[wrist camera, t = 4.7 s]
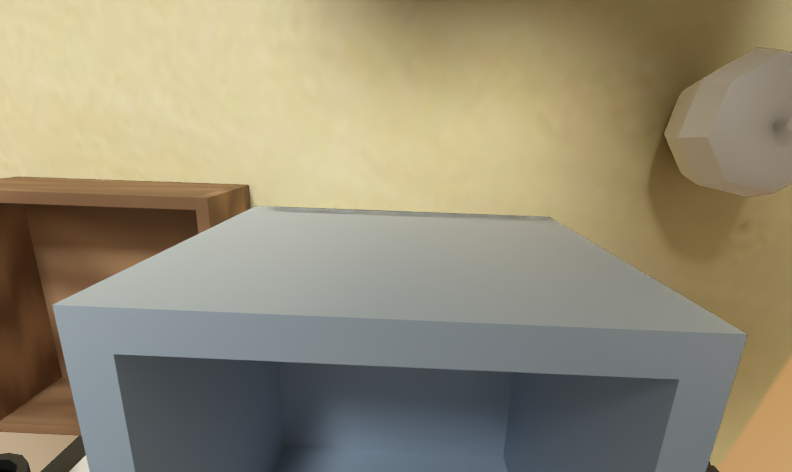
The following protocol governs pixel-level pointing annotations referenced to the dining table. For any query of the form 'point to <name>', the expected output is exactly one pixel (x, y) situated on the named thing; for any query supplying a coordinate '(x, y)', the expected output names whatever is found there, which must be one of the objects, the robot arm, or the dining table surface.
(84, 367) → the small crate
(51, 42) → the dining table surface
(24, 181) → the large crate
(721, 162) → the white rounded piece
